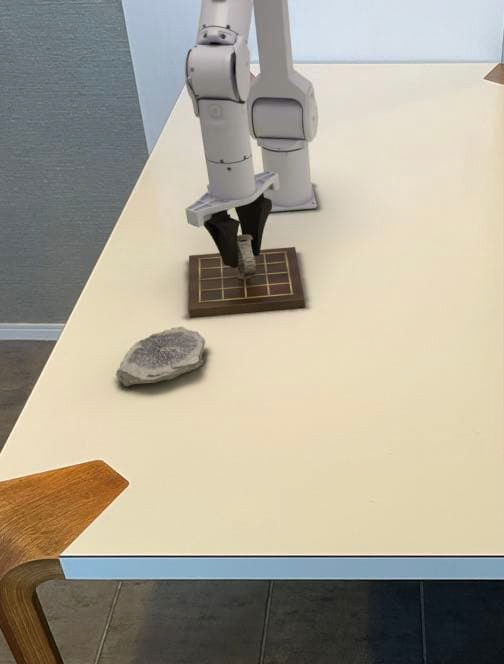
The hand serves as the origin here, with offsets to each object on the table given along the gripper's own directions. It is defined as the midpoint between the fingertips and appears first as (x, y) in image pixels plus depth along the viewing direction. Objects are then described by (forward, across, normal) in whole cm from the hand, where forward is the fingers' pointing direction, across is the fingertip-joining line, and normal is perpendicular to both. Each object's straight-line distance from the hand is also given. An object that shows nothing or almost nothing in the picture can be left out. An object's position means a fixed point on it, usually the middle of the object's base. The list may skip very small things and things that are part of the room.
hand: (242, 259), depth 114 cm
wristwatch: (+2, +1, +1) cm, 2 cm away
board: (+4, 0, 0) cm, 4 cm away
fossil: (+4, +20, +7) cm, 22 cm away
